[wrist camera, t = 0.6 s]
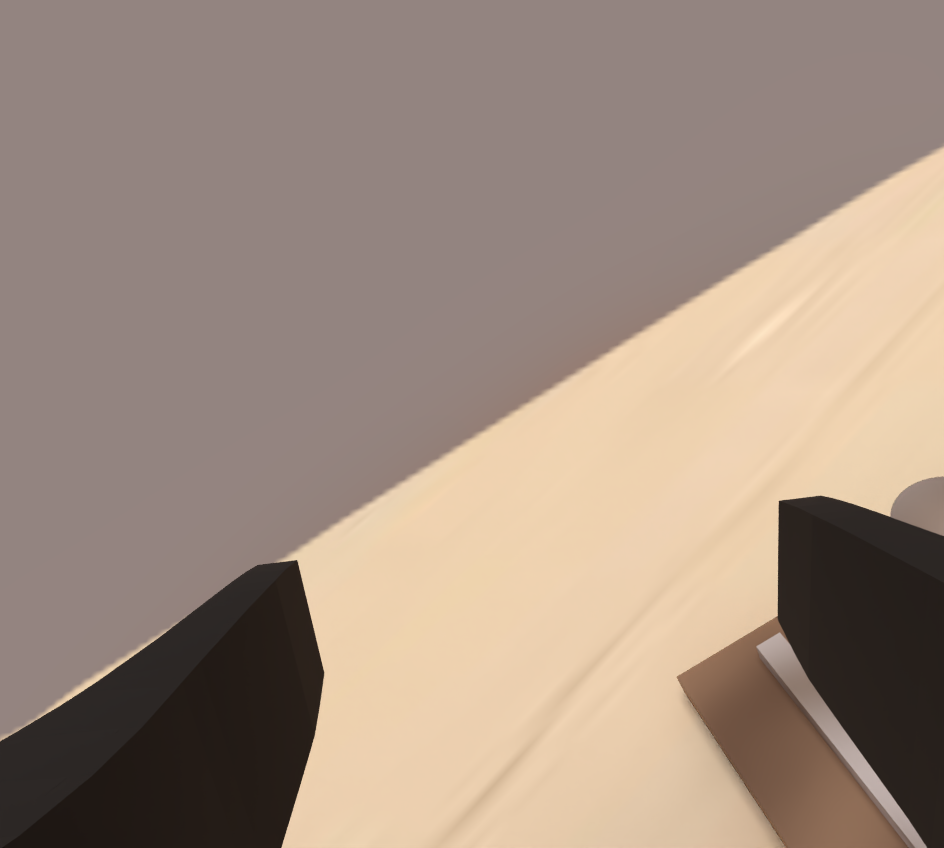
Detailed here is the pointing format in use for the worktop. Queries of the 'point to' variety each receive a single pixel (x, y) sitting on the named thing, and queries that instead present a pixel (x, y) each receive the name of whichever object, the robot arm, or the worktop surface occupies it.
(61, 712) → the robot arm
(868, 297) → the worktop surface
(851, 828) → the board
